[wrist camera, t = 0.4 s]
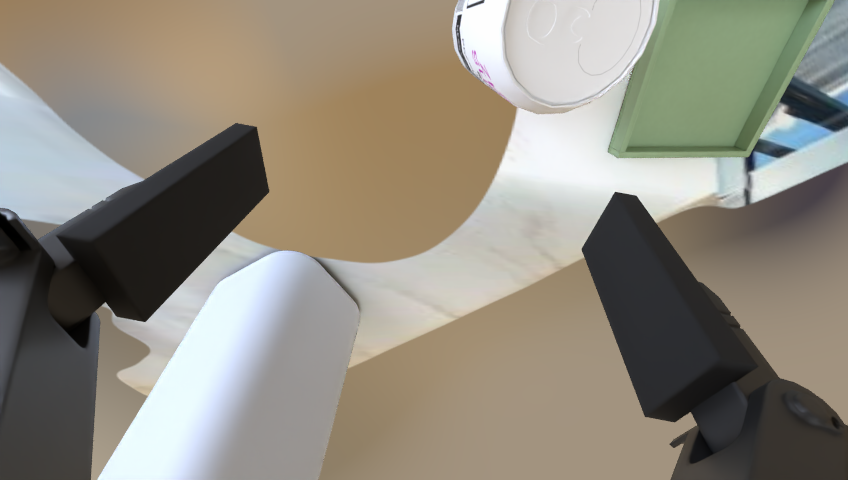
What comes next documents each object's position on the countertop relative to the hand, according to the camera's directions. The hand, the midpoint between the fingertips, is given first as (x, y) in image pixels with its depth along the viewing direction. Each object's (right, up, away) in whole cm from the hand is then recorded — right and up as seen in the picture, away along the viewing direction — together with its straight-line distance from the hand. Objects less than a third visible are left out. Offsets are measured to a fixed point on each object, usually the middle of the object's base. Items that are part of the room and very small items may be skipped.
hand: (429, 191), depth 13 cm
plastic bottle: (-17, -10, +30) cm, 36 cm away
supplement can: (+6, +16, +15) cm, 23 cm away
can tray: (+25, +13, +18) cm, 33 cm away
